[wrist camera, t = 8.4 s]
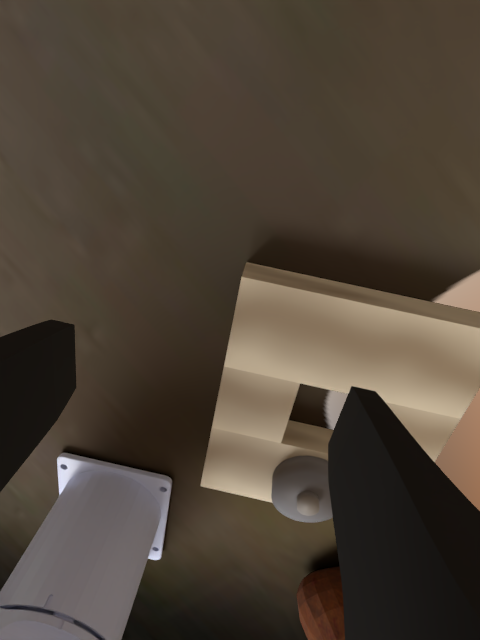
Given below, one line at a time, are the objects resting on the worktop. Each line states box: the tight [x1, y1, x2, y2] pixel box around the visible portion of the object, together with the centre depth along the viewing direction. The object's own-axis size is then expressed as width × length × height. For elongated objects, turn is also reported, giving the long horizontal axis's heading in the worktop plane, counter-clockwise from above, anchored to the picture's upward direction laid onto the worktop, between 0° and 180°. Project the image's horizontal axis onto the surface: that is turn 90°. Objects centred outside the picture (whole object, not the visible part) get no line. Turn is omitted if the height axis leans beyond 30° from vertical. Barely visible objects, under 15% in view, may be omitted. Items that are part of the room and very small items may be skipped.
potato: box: [297, 566, 345, 640], centre depth 25 cm, size 8×12×8 cm, turn 97°
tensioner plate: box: [200, 262, 480, 522], centre depth 20 cm, size 14×12×4 cm
